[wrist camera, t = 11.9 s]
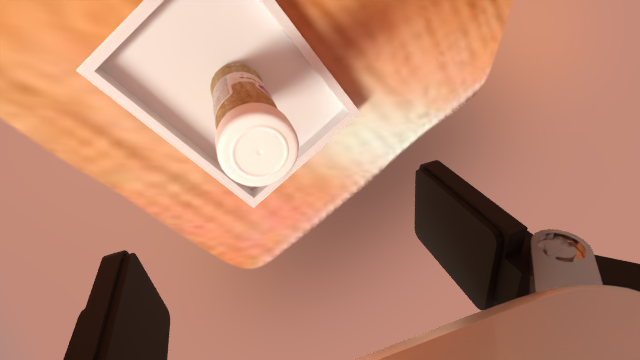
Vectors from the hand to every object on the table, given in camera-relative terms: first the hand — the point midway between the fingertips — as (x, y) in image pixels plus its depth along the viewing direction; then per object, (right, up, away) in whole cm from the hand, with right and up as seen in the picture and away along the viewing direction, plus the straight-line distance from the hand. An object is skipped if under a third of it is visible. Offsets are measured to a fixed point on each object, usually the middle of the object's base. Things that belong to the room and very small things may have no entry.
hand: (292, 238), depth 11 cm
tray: (-6, +10, +19) cm, 22 cm away
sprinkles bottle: (-6, +10, +19) cm, 22 cm away
